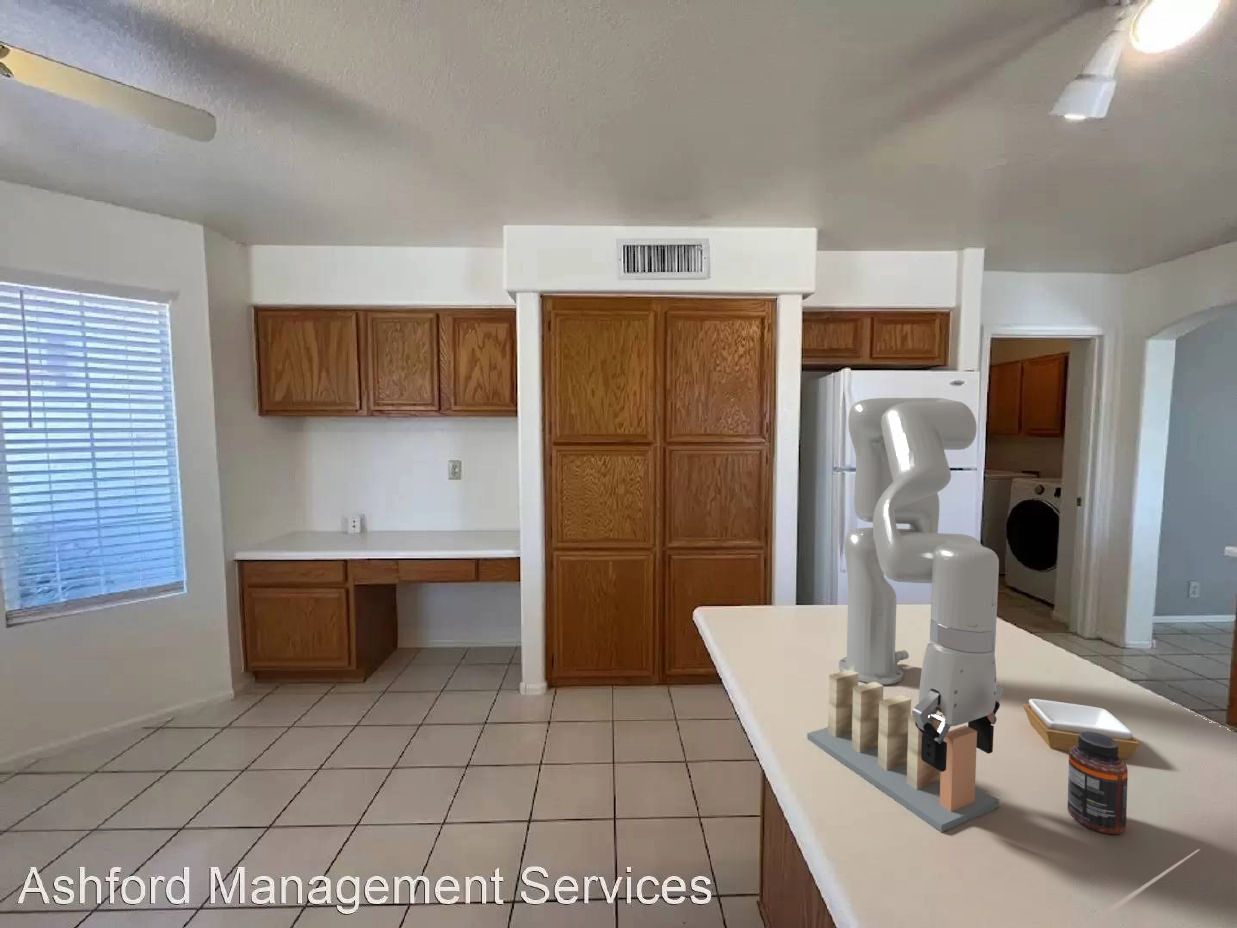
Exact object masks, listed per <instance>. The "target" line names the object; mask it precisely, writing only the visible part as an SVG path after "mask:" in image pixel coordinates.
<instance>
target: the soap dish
mask: <svg viewBox="0 0 1237 928" xmlns="http://www.w3.org/2000/svg"><path fill="white" fill-rule="evenodd" d="M1022 706H1023V708H1024V709H1023V710H1024V711H1025V713H1026V716H1027V719H1028V722H1029V723H1030V725H1031V727H1032V728H1033V729H1034V730H1035V732H1036V733H1037V734H1038V735H1039V737H1041V738H1042V740H1043V741H1044V743H1046V745H1047V746H1048V747H1049V748H1050V749H1051V750H1052V749H1053V750H1057V751H1058V750H1059V751H1065V752H1069V751H1070V749H1071V748H1072V747H1073V746H1075V745H1078V744H1079V743H1078V740H1079V733H1080V732H1084V731H1088V732H1095V733H1099V734H1103V735H1105V736H1108V737H1110V738H1112V739H1113V740H1115V741H1116V742H1117V743H1118V756H1119V757H1120V758H1121V759H1122V760H1128V758H1129V757H1131V755H1132V754H1133V753H1134V752H1135V750H1136V749H1138V747H1139V746H1140V741H1138V740H1137V739H1136V738H1135V737H1133V735H1134V734H1133V732H1132V731H1131V730H1130V729H1129V728H1128V727H1127V726H1126V725H1124V724H1123V722H1121V721H1120V720H1119V719H1118V718H1116V716H1114V715H1113V714H1111V712H1109V711H1108V710H1107V709H1105V708H1101V707H1095V706H1090V705H1082V704H1077V703H1070V702H1069V703H1067V702H1063V701H1061V702H1060V701H1056V700H1048V699H1047V700H1046V699H1039V698H1030V699H1029V700H1028V703H1022Z"/></svg>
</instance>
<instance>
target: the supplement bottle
mask: <svg viewBox="0 0 1237 928" xmlns="http://www.w3.org/2000/svg"><path fill="white" fill-rule="evenodd" d="M1078 743H1079V744H1078V745H1075V746H1073V747H1072V748H1071V749H1070V751H1068V766H1067V767H1068V771H1067V775H1068V776H1067V777H1068V778H1067V781H1068V782H1067V810H1068V813H1069V814H1070V816H1071V817H1072V818H1073V819H1074V820H1075V821H1076V822H1078V823H1079V824H1080V825H1083V826H1084V827H1086V828H1088V829H1091V830H1093V831H1096V832H1098V833H1104V834H1108V835H1109V834H1110V835H1117V834H1118V835H1119V834H1122V833H1124V832H1125V830H1126V829H1127V828H1126V827H1127V807H1128V805H1127V803H1128V781H1129V780H1128V776H1129V775H1128V774H1129V771H1128V766H1127V763H1126V762H1125V761H1124V759H1121V758H1120V757H1119V756H1118V743H1117V742H1116V741H1115V740H1113V739H1112V738H1110V737H1108V736H1105V735H1103V734H1099V733H1095V732H1088V731H1084V732H1080V733H1079V740H1078Z"/></svg>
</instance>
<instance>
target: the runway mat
mask: <svg viewBox="0 0 1237 928" xmlns="http://www.w3.org/2000/svg"><path fill="white" fill-rule="evenodd" d="M806 738H807V740H808V741H810V742H811V743H813V744H814V745H815V746H817V747H818V748H819V749H821V750H823V751H824V752H826V753H827V755H830V756H831V757H833V758H834V759H836V761H838V762H840V763H842V764H843V765H844V766H846V767H847V768H848V769H850V770H851V771H852V772H854V773H855V774H857V775H858V776H860V777H861V778H862V779H864V780H865V781H867V782H869V783H870V784H871V785H873V786H874V787H875V788H877V789H878V790H880V791H882V793H884V794H886V796H888V797H890V798H891V799H893V800H894V801H896V802H897V803H899V804H900V805H902V806H903V808H906V809H907V810H909V811H910V812H911V813H913V814H914V815H916V816H917V817H918V818H920V819H921V820H923V821H924V822H926V823H927V824H929V825H930V826H931V827H933V828H934V829H935V830H936V831H939V833H943V832H946V831H948V830H950V829H952V828H955V827H956V826H959V825H961V824H963V823H965V822H969V821H971V820H972V819H975V818H977V817H979V816H981V815H984V814H986V813H988V812H990V811H992V810H995V809H997V808H999V807H1000V799H998V798H997V797H995V796H993V795H991V794H990V793H988V792H987V791H985V790H983V789H981V788H979V787H978V786H976V785H975V801H974V802H972V803H970V804H967V805H965V806H963V807H960V808H958V809H956V810H954V811H949V810H948V809H946V808H945V807H943V806H941V805H940V781H938V782H935V783H933V784H930V785H927V786H925V787H922V788H920V789H917V790H916V789H915V788H913V787H912V786H910V785H909V784H907V763H905V764H902V765H900V766H897V767H894V768H891V769H888V770H886V769H884V768H883V767H881V766H880V765H878V747H875V748H872V749H869V750H866V751H863V752H858V751H856V750H855V749H853V748H852V732H850V733H847V734H843V735H840V736H837V737H835V736H833V735H832V734H830V733H829V732H828V727H824V728H821V729H817V730H814V731H813V730H812V731H810V732H807V736H806ZM940 776H941V771H940Z"/></svg>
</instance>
